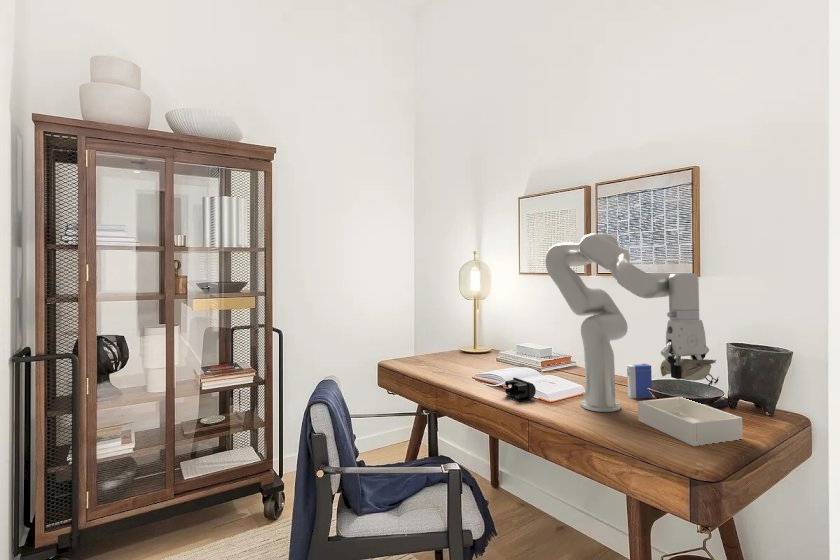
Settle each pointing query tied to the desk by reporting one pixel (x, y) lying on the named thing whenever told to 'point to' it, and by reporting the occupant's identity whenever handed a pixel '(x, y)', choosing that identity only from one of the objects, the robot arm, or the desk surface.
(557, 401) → the desk surface
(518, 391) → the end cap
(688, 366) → the decorative bird
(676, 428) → the walled box
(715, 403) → the disk drive
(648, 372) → the walkman
